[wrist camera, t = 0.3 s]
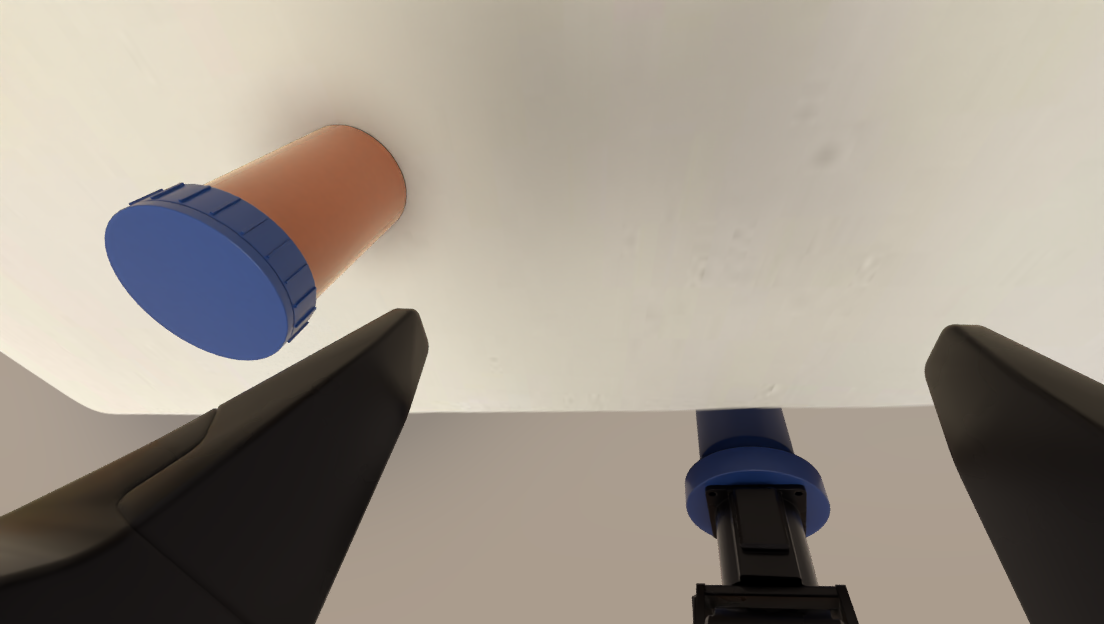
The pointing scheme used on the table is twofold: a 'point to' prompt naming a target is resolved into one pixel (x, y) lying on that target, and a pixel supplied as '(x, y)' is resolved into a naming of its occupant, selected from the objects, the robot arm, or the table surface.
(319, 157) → the jar
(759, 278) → the table surface
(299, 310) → the lid
